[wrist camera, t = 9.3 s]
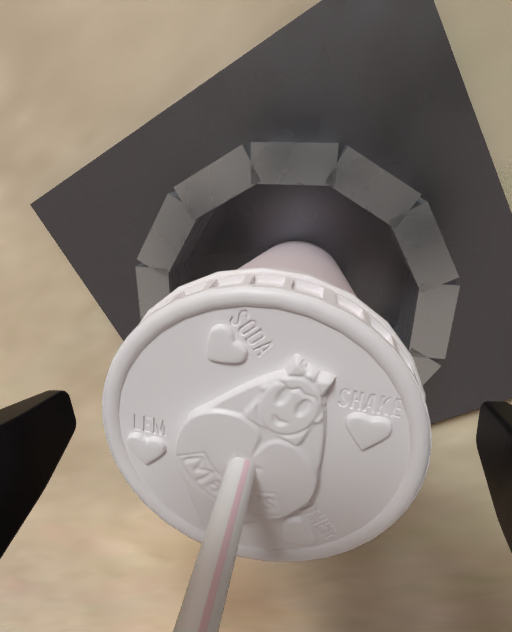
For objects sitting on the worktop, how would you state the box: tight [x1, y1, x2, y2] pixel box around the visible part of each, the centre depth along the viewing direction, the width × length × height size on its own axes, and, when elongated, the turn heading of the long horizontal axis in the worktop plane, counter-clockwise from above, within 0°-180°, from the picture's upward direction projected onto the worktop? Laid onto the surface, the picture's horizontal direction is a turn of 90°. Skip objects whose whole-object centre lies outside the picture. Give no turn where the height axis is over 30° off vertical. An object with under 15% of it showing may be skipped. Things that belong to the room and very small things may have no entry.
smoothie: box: [102, 241, 432, 632], centre depth 10 cm, size 6×6×14 cm
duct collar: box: [30, 0, 512, 424], centre depth 16 cm, size 16×16×3 cm
